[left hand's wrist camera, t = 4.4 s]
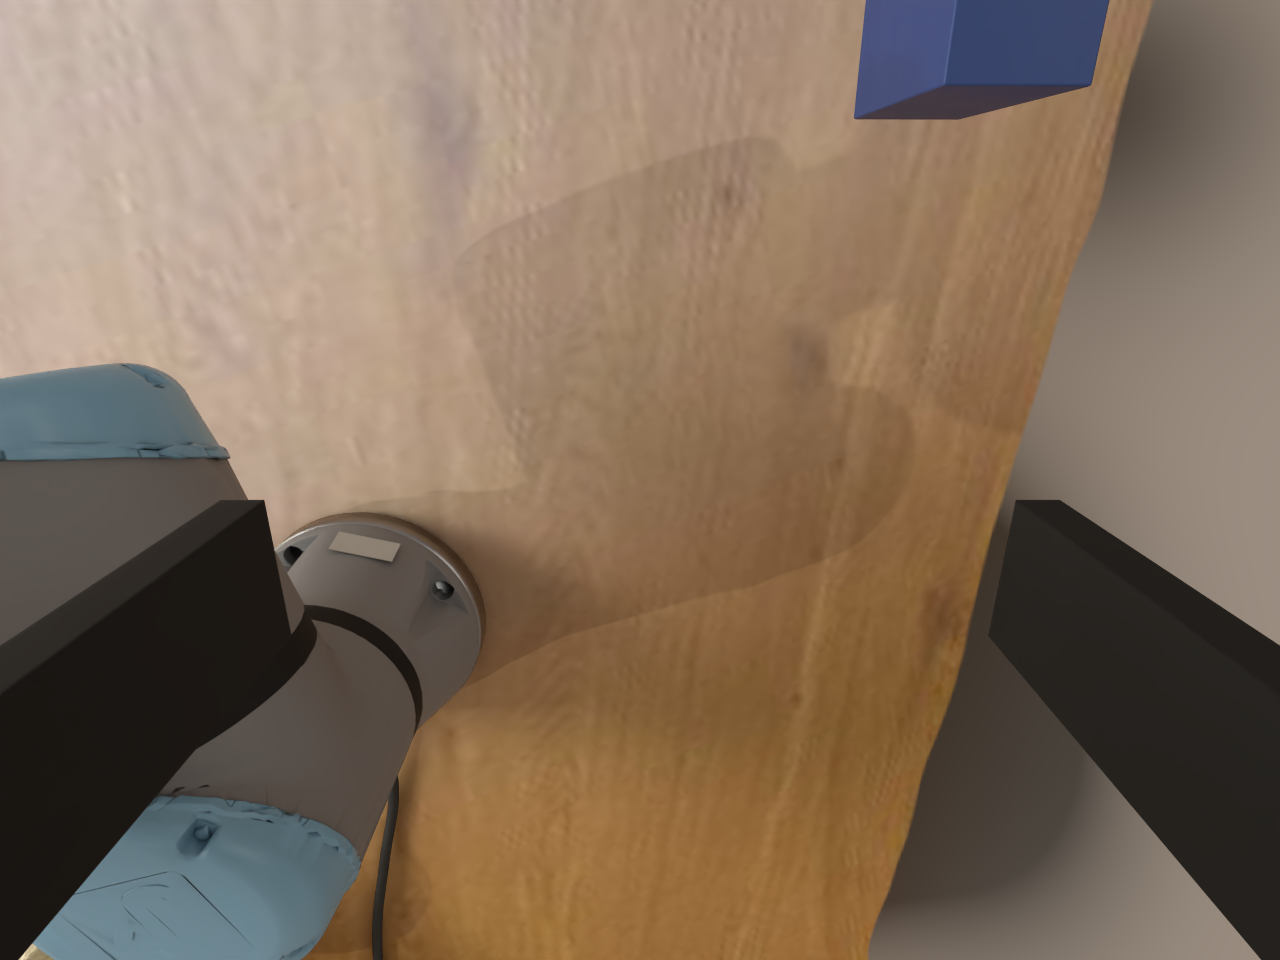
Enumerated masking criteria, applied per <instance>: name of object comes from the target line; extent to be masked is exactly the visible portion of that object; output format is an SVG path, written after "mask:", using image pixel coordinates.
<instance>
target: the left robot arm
mask: <svg viewBox="0 0 1280 960" xmlns="http://www.w3.org/2000/svg"><path fill="white" fill-rule="evenodd" d="M229 458H230V456H229V453H228V451H227V450H226V448H224V447H222V446H219V444H218V443H217V441H216V440H215V438H214V436H213V435H212V433H211V432H210V430H209V429H208V427H207V425H206V424H205V422H204V421H203V419H202V417H201V416H200V414H199V413H198V411H197V409H196V408H195V406H194V404H193V403H192V401H191V399H190V398H189V396H188V394H187V393H186V391H185V390H184V388H183V387H182V386H181V385H180V384H179V383H178V382H177V381H176V380H175V379H173V378H172V377H171V376H169V375H168V374H166V373H164V372H162V371H160V370H158V369H155V368H152V367H149V366H145V365H140V364H129V363H119V364H105V365H96V366H87V367H78V368H69V369H62V370H55V371H48V372H41V373H34V374H27V375H21V376H14V377H8V378H2V379H0V960H19V959H20V958H21V956H22V955H23V954H24V953H25V952H26V950H27V949H28V948H29V947H30V946H31V945H32V943H33V944H34V945H35V946H36V947H37V948H38V949H40V950H41V951H43V952H44V953H46V954H47V955H48V956H50V957H51V958H53V959H54V960H301V959H303V958H304V957H305V956H306V955H307V954H308V953H309V952H310V951H311V950H312V949H313V948H314V946H315V945H316V944H317V942H318V941H319V940H320V939H321V937H322V936H323V934H324V932H325V931H326V929H327V927H328V925H329V923H330V921H331V919H332V917H333V915H334V913H335V911H336V909H337V907H338V905H339V903H340V901H341V899H342V897H343V895H344V893H345V892H346V891H347V890H348V889H349V888H350V887H351V885H352V883H353V882H354V881H355V880H356V878H357V876H358V873H359V870H360V866H361V862H362V860H363V857H364V855H365V853H366V850H367V848H368V845H369V843H370V841H371V838H372V836H373V833H374V831H375V828H376V826H377V824H378V821H379V819H380V816H381V814H382V812H383V809H384V807H385V804H386V802H387V800H388V811H387V819H386V825H385V831H384V836H383V842H382V848H381V854H380V862H379V871H378V878H377V885H376V892H375V900H374V908H373V924H372V947H373V960H383V953H382V917H383V905H384V897H385V890H386V883H387V877H388V869H389V862H390V854H391V847H392V842H393V836H394V831H395V825H396V820H397V813H398V803H399V781H398V773H399V771H400V768H401V766H402V764H403V761H404V759H405V756H406V754H407V752H408V749H409V747H410V744H411V741H412V739H413V737H414V735H415V732H416V730H417V729H418V728H419V727H420V726H421V725H423V724H424V723H425V722H426V721H427V720H428V719H429V718H430V717H431V716H432V715H434V714H435V713H436V712H437V711H438V710H439V709H440V708H441V707H442V706H443V705H444V704H446V703H447V702H448V701H449V700H450V699H451V698H452V697H453V696H454V695H455V694H456V693H457V692H458V691H459V690H460V689H461V687H462V686H463V685H464V684H465V682H466V681H467V679H468V678H469V676H470V674H471V672H472V671H473V668H474V666H475V663H476V661H477V658H478V655H479V653H480V650H481V647H482V643H483V640H484V634H485V611H484V605H483V601H482V597H481V594H480V591H479V589H478V586H477V584H476V582H475V580H474V578H473V576H472V575H471V573H470V572H469V570H468V569H467V567H466V566H465V564H464V563H463V562H462V561H461V559H460V558H459V557H458V556H457V555H456V554H455V553H454V552H453V551H452V550H451V549H450V548H449V547H448V546H447V545H445V544H444V543H443V542H442V541H440V540H439V539H438V538H436V537H435V536H433V535H432V534H430V533H428V532H427V531H425V530H423V529H421V528H419V527H417V526H415V525H413V524H411V523H408V522H406V521H403V520H400V519H397V518H393V517H390V516H385V515H379V514H371V513H345V514H338V515H332V516H329V517H325V518H321V519H319V520H316V521H314V522H311V523H309V524H307V525H305V526H303V527H302V528H300V529H299V530H297V531H295V532H294V533H293V534H292V535H290V536H289V537H288V538H287V539H286V540H284V541H283V542H282V543H281V544H280V545H279V546H278V547H277V548H276V549H274V546H273V541H272V536H271V531H270V527H269V522H268V517H267V512H266V507H265V502H264V500H248V499H247V497H246V495H245V493H244V491H243V489H242V487H241V485H240V483H239V481H238V479H237V477H236V475H235V473H234V471H233V470H232V468H231V466H230V464H229V462H228V460H227V459H229ZM988 636H989V637H990V638H991V639H992V641H993V642H994V643H995V644H996V645H997V647H998V648H999V649H1000V650H1001V651H1002V653H1003V654H1004V655H1005V656H1006V657H1007V659H1008V660H1009V661H1010V662H1011V663H1012V664H1013V666H1014V667H1015V668H1016V669H1017V670H1018V672H1019V673H1020V674H1021V675H1022V676H1023V678H1024V679H1025V680H1026V681H1027V682H1028V683H1029V685H1030V686H1031V687H1032V688H1033V689H1034V691H1035V692H1036V693H1037V694H1038V695H1039V697H1040V698H1041V699H1042V700H1043V701H1044V702H1045V704H1046V705H1047V706H1048V707H1049V708H1050V710H1051V711H1052V712H1053V713H1054V714H1055V716H1056V717H1057V718H1058V719H1059V720H1060V721H1061V723H1062V724H1063V725H1064V726H1065V727H1066V729H1067V730H1068V731H1069V732H1070V733H1071V735H1072V736H1073V737H1074V738H1075V739H1076V740H1077V742H1078V743H1079V744H1080V745H1081V746H1082V748H1083V749H1084V750H1085V751H1086V752H1087V753H1088V755H1089V756H1090V757H1091V758H1092V759H1093V761H1094V762H1095V763H1096V764H1097V765H1098V767H1099V768H1100V769H1101V770H1102V771H1103V772H1104V774H1105V775H1106V776H1107V777H1108V778H1109V780H1110V781H1111V782H1112V783H1113V784H1114V786H1115V787H1116V788H1117V789H1118V790H1119V791H1120V793H1121V794H1122V795H1123V796H1124V797H1125V799H1126V800H1127V801H1128V802H1129V803H1130V805H1131V806H1132V807H1133V808H1134V809H1135V810H1136V812H1137V813H1138V814H1139V815H1140V816H1141V818H1142V819H1143V820H1144V821H1145V822H1146V824H1147V825H1148V826H1149V827H1150V828H1151V829H1152V831H1153V832H1154V833H1155V834H1156V835H1157V837H1158V838H1159V839H1160V840H1161V841H1162V842H1163V844H1164V845H1165V846H1166V847H1167V848H1168V850H1169V851H1170V852H1171V853H1172V854H1173V855H1174V857H1175V858H1176V859H1177V860H1178V861H1179V863H1180V864H1181V865H1182V866H1183V867H1184V868H1185V870H1186V871H1187V872H1188V873H1189V875H1190V876H1191V877H1192V878H1193V879H1194V880H1195V882H1196V883H1197V884H1198V885H1199V886H1200V888H1201V889H1202V890H1203V891H1204V892H1205V893H1206V895H1207V896H1208V897H1209V898H1210V899H1211V901H1212V902H1213V903H1214V904H1215V905H1216V907H1217V908H1218V909H1219V910H1220V911H1221V912H1222V914H1223V915H1224V916H1225V917H1226V918H1227V920H1228V921H1229V922H1230V923H1231V924H1232V926H1233V927H1234V928H1235V929H1236V930H1237V931H1238V933H1239V934H1240V935H1241V936H1242V937H1243V939H1244V940H1245V941H1246V942H1247V943H1248V945H1249V946H1250V947H1251V948H1252V949H1253V950H1254V952H1255V953H1256V954H1257V955H1258V956H1259V958H1260V959H1261V960H1280V645H1278V644H1277V643H1275V642H1274V641H1272V640H1271V639H1269V638H1267V637H1266V636H1265V635H1263V634H1262V633H1260V632H1258V631H1257V630H1255V629H1254V628H1252V627H1251V626H1249V625H1248V624H1246V623H1245V622H1243V621H1242V620H1240V619H1239V618H1237V617H1236V616H1234V615H1233V614H1231V613H1230V612H1228V611H1227V610H1225V609H1224V608H1222V607H1221V606H1219V605H1218V604H1216V603H1215V602H1213V601H1212V600H1210V599H1209V598H1207V597H1206V596H1204V595H1202V594H1201V593H1200V592H1198V591H1196V590H1195V589H1193V588H1192V587H1190V586H1189V585H1187V584H1186V583H1184V582H1183V581H1181V580H1180V579H1178V578H1177V577H1175V576H1174V575H1172V574H1171V573H1169V572H1168V571H1166V570H1165V569H1163V568H1162V567H1160V566H1159V565H1157V564H1156V563H1154V562H1153V561H1151V560H1150V559H1148V558H1147V557H1145V556H1144V555H1142V554H1141V553H1139V552H1137V551H1136V550H1134V549H1133V548H1131V547H1130V546H1128V545H1127V544H1125V543H1124V542H1122V541H1121V540H1119V539H1118V538H1116V537H1115V536H1113V535H1112V534H1110V533H1109V532H1107V531H1106V530H1104V529H1103V528H1101V527H1100V526H1098V525H1097V524H1095V523H1094V522H1092V521H1091V520H1089V519H1088V518H1086V517H1085V516H1083V515H1082V514H1080V513H1079V512H1077V511H1076V510H1074V509H1072V508H1071V507H1069V506H1068V505H1066V504H1065V503H1063V502H1062V501H1060V500H1016V502H1015V507H1014V512H1013V517H1012V522H1011V527H1010V531H1009V536H1008V541H1007V546H1006V551H1005V556H1004V561H1003V566H1002V571H1001V576H1000V581H999V586H998V590H997V595H996V600H995V605H994V610H993V615H992V620H991V625H990V630H989V635H988Z"/></svg>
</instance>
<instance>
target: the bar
mask: <svg viewBox="0 0 1280 960" xmlns="http://www.w3.org/2000/svg"><path fill="white" fill-rule="evenodd" d="M1108 4H1109V0H866V6H865V15H864V25H863V35H862V44H861V54H860V64H859V74H858V83H857V93H856V103H855V113H854V119H962V118H966V117H970V116H974V115H978V114H982V113H986V112H990V111H994V110H998V109H1001V108H1005V107H1009V106H1013V105H1017V104H1021V103H1025V102H1029V101H1033V100H1037V99H1041V98H1045V97H1049V96H1053V95H1057V94H1061V93H1064V92H1068V91H1072V90H1076V89H1080V88H1084V87H1088V86H1090V85H1091V83H1092V79H1093V75H1094V70H1095V65H1096V60H1097V56H1098V51H1099V46H1100V42H1101V37H1102V32H1103V27H1104V23H1105V18H1106V13H1107V9H1108Z"/></svg>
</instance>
